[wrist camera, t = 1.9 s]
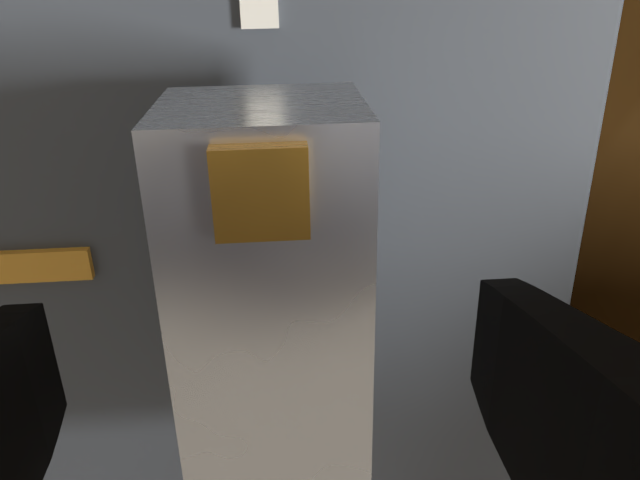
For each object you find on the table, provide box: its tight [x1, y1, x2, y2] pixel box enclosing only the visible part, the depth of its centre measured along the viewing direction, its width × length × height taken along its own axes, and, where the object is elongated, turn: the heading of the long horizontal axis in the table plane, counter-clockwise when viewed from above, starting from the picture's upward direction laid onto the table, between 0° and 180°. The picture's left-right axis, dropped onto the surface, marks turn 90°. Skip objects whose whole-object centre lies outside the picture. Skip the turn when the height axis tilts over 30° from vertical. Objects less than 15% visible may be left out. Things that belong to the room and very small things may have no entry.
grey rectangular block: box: [131, 82, 380, 480], centre depth 11 cm, size 8×3×5 cm, turn 1°
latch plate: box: [0, 0, 624, 480], centre depth 14 cm, size 16×14×2 cm
